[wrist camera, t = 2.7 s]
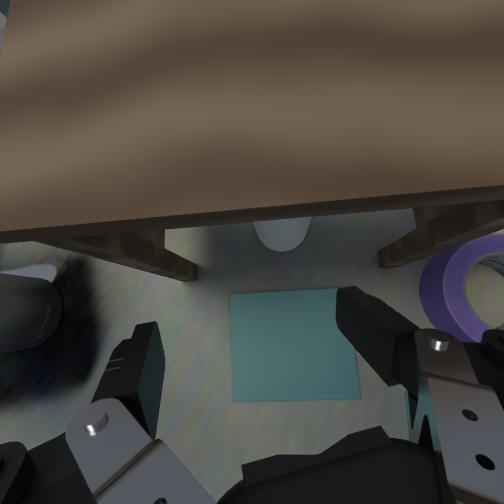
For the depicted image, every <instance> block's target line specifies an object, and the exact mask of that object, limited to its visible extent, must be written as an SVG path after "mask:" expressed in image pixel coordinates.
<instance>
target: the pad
mask: <svg viewBox="0 0 504 504" xmlns="http://www.w3.org/2000/svg"><path fill="white" fill-rule="evenodd" d="M338 289H339V288H326V289H309V290H293V291H276V292H259V293H242V294H230V325H231V356H232V386H233V402H235V401H293V400H351V399H361V394H360V386H359V379H358V371H357V363H356V356H355V348H354V347H353V345H352V344H351V343H350V342H349V341H348V340H347V339H346V337H345V336H344V335H343V334H342V333H341V332H340V330H339V329H338V327H337V324H336V317H335V316H336V293H337V290H338Z"/></svg>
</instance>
